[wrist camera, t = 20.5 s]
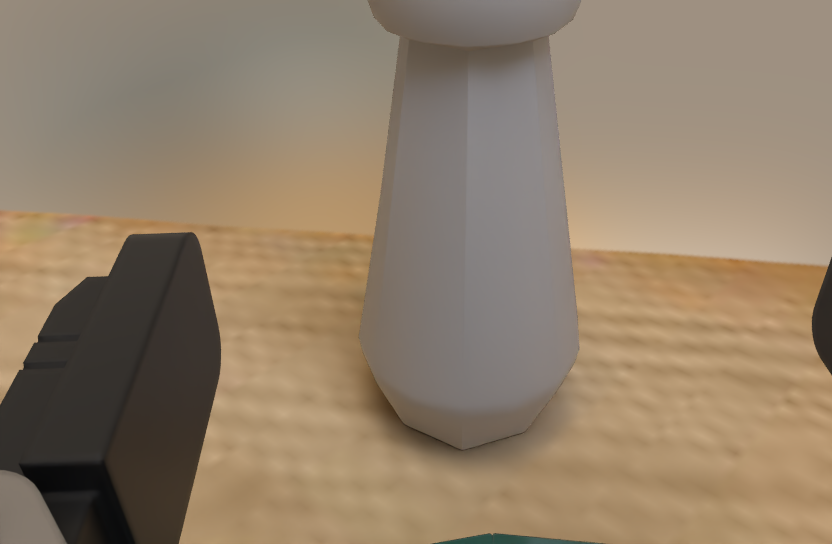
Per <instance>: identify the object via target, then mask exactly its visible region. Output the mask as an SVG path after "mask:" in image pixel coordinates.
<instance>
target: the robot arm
mask: <svg viewBox="0 0 832 544" xmlns="http://www.w3.org/2000/svg"><path fill="white" fill-rule="evenodd" d="M812 333H813V339H814V344H815V347H816V350H817V352H818V354H819V356H820V358H821V360H822V361H823V363H824V364H825V366H826V367H827V369H828V370H829V372H830V373H831V375H832V258H831V261H830V264H829V266H828V269H827V272H826V275H825V278H824V281H823V284H822V286H821V289H820V292H819V295H818V298H817V301H816V304H815V307H814V310H813V316H812ZM23 364H24V368H23V370H19V372H18V373H17V375H16V377H15V379H14V381H13V383H12V384H11V386H10V388H9V390H8V392H7V394H6V395H5V397H4V399H3V401H2V403H1V405H0V544H179V540H180V536H181V532H182V528H183V524H184V519H185V515H186V511H187V507H188V503H189V499H190V495H191V491H192V487H193V483H194V479H195V474H196V470H197V466H198V462H199V458H200V454H201V450H202V446H203V442H204V438H205V433H206V429H207V425H208V421H209V417H210V413H211V409H212V405H213V401H214V397H215V393H216V388H217V384H218V380H219V375H220V366H221V342H220V333H219V328H218V323H217V318H216V314H215V309H214V305H213V300H212V296H211V291H210V287H209V282H208V278H207V273H206V269H205V264H204V260H203V255H202V251H201V247H200V244H199V241H198V239H197V237H196V235H195V234H194V233H192V232H188V233H161V234H133V235H130V236H129V237H128V238H127V239H126V241H125V242H124V244H123V247H122V249H121V251H120V253H119V255H118V257H117V259H116V261H115V263H114V265H113V267H112V270H111V272H110V274H109V276H104V277H87V278H86V279H84V280H83V281H82V282H81V283H80V284H79V285H77V286H76V287H75V288H74V289H73V290H72V291H70V292H69V293H68V294H67V295H66V296H65V297H63V298H62V299H61V300H60V301H59V302H58V303H56V304H55V306H54V307H53V309H52V311H51V313H50V315H49V317H48V318H47V320H46V322H45V324H44V326H43V328H42V329H41V331H40V333H39V335H38V343H34V344H33V346H32V348H31V350H30V351H29V353H28V355H27V357H26V359H25V361H24V362H23Z"/></svg>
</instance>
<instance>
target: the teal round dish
mask: <svg viewBox="0 0 832 544" xmlns="http://www.w3.org/2000/svg"><path fill="white" fill-rule="evenodd" d="M433 544H604V543H593V542H582V541H572V540H561V539H550V538H540V537H529V536H518V535H508V534H497V533H494V534H493V535H492V534H483V535H478V536H472V537H467V538H461V539H455V540H450V541H444V542H439V543H433Z"/></svg>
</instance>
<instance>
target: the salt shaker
mask: <svg viewBox="0 0 832 544" xmlns="http://www.w3.org/2000/svg"><path fill="white" fill-rule="evenodd" d="M368 2H369V5H370V8H371V10H372V13H373V16H374V18H375V19H376V20H377V21H378V22H379V23H380V24H381V25H382V26H383V27H384V28H385V30H387V31H388V32H390V33H393V34H396V35H398V36H400V41H399V48H398V57H397V65H396V73H395V81H394V89H393V97H392V105H391V114H390V121H389V130H388V137H387V146H386V154H385V162H384V170H383V178H382V187H381V195H380V201H379V207H378V214H377V221H376V227H375V234H374V240H373V247H372V254H371V260H370V267H369V273H368V280H367V287H366V293H365V300H364V306H363V313H362V320H361V326H360V333H359V339H360V343H361V347H362V351H363V354H364V356H365V358H366V360H367V363H368V365H369V367H370V369H371V371H372V374H373V376H374V378H375V380H376V383H377V384H378V386H379V387H380V389H381V390H382V392H383V393H384V395H385V396H386V398H387V399H388V401H389V402H390V404H391V405H392V407H393V408H394V410H395V411H396V413H397V414H398V416H399V417H400V419H401V420H402V422H403V423H404V424H405V425H407V426H409V427H412V428H414V429H416V430H418V431H421V432H423V433H425V434H427V435H429V436H432V437H434V438H436V439H438V440H440V441H443V442H445V443H447V444H449V445H451V446H454V447H456V448H458V449H460V450H465V449H468V448H472V447H475V446H479V445H482V444H485V443H489V442H492V441H496V440H499V439H503V438H506V437H509V436H513V435H516V434H520V433H523V432H525V431H526V430H527V429H528V427H529V426H530V425H531V424H532V422H533V421H534V420H535V418H536V417H537V416H538V415H539V413H540V412H541V411H542V410H543V408H544V407H545V406H546V405H547V403H548V402H549V401H550V399H551V398H552V397H553V396H554V394H555V393H556V391H557V390H558V388H559V387H560V385H561V384H562V382H563V380H564V379H565V377H566V376H567V374H568V373H569V371H570V369H571V368H572V366H573V365H574V362H575V360H576V357H577V354H578V351H579V333H578V315H577V306H576V296H575V286H574V277H573V267H572V258H571V248H570V238H569V229H568V219H567V209H566V200H565V190H564V181H563V172H562V161H561V152H560V142H559V132H558V123H557V113H556V103H555V94H554V84H553V75H552V65H551V55H550V46H549V36H550V35H552V34H555V33H556V32H557V31H559V30H560V29H561V28H563V27H564V26H565V25H567V24H568V23H569V22H571V21H572V20H573V18H574V16H575V14H576V12H577V9H578V8H579V5H580V3H581V0H368Z"/></svg>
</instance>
